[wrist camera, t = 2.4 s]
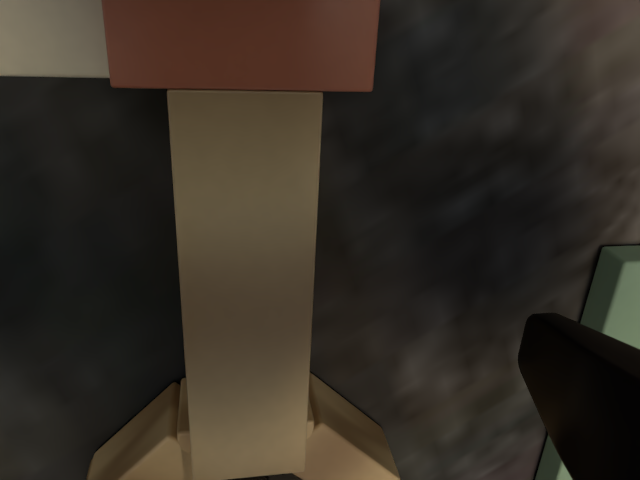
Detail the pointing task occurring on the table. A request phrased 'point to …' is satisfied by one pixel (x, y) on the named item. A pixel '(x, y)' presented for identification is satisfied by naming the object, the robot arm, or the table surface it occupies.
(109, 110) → the table surface
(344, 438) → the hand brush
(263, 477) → the stub peg
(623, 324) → the peg stand
